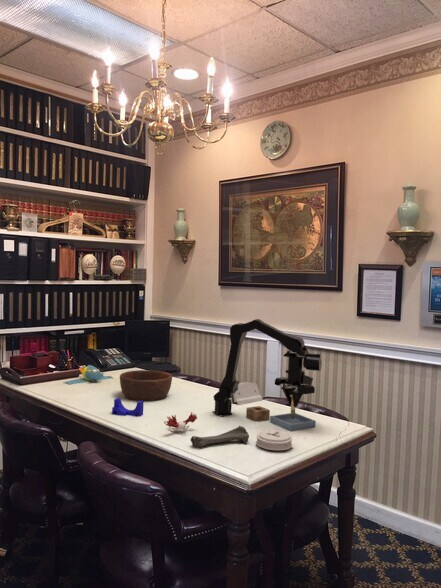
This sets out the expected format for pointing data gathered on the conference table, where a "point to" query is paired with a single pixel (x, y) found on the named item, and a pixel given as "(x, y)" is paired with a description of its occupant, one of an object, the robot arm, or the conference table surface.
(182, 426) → the figurine
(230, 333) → the robot arm
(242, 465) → the conference table surface
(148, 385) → the wooden bowl
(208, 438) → the bone
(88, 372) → the blue toy parrot
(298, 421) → the tray
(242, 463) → the conference table surface
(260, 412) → the pin block
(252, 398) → the hinge
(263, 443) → the lid
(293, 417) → the brass pin
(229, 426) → the conference table surface
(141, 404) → the cable clip
